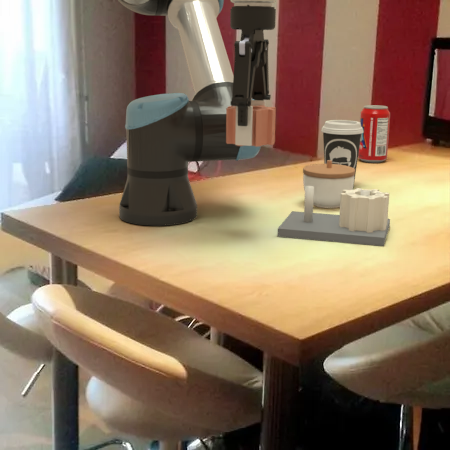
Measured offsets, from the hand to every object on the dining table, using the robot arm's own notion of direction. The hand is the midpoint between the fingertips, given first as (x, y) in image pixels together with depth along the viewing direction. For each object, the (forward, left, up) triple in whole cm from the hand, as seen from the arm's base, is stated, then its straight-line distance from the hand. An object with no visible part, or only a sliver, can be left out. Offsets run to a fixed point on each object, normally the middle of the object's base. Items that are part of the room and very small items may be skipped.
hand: (250, 140), depth 129 cm
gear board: (+15, +6, -17) cm, 23 cm away
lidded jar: (+10, +26, -17) cm, 33 cm away
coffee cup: (+10, +44, -17) cm, 49 cm away
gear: (0, 0, 0) cm, 0 cm away
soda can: (+14, +80, -17) cm, 83 cm away
